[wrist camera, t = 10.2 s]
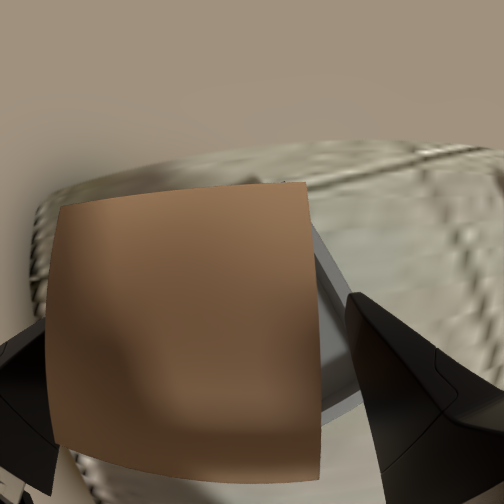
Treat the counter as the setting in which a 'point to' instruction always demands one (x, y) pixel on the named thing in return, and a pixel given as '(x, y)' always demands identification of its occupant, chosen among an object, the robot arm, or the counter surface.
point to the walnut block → (188, 333)
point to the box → (333, 337)
